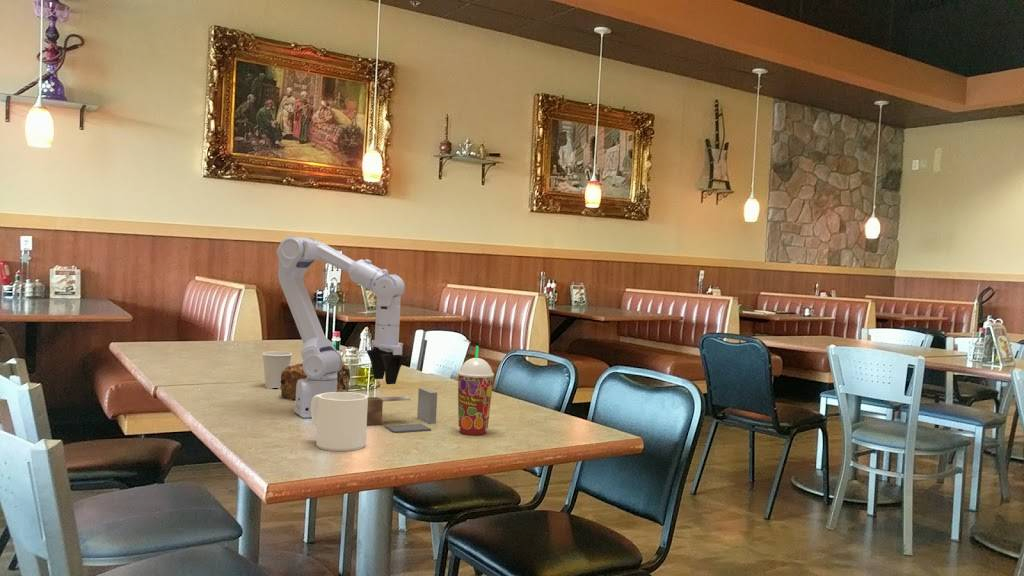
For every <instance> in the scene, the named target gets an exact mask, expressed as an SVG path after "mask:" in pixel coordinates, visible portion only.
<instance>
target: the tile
mask: <svg viewBox="0 0 1024 576" xmlns="http://www.w3.org/2000/svg"><path fill="white" fill-rule="evenodd" d="M417 393H418V395H417V397H418V398H417V413H416V415H417V417H416V418H417V419H418V420H420V421H422V422H424V423H426V424H428V425H431V424H432V425H433V424H436V423H437V405H438V392H437V391H435V390H432V389H429V388H427V387H419V388H418V392H417Z"/></svg>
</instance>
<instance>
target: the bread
mask: <svg viewBox="0 0 1024 576" xmlns="http://www.w3.org/2000/svg"><path fill="white" fill-rule="evenodd" d="M350 371H351V369H350V368H349V366H348V365H346V364H345V363H344V362H343V364H342V367H341V369H340V370H339V371H338V372H337V392H349V389H350V388H349V387H350V381H351V372H350ZM306 378H307V375H306V374H305V372H304V370H303V362H301V363H297V364H296V363H295V364H294V365H290V366H289V367H287V368H285V369H284V370H283V371H282V374H281V387H280V389H279V390H280V391H281V393H280V395H281V397H282V398H283V399H287V400H289V399H292V400H296V385H297V381H298V380H299V379H306Z"/></svg>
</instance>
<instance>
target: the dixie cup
mask: <svg viewBox="0 0 1024 576" xmlns="http://www.w3.org/2000/svg"><path fill="white" fill-rule="evenodd" d="M261 355H262V359H263V372H264V384H265V388H266V387H267V388H266V389H269V388H280V387H281V374H282V371H283V370H284V369H285V368H287V367H289V366H291V360H292V359H291V358H292V355H293V353H292V352H289V351H281V350H280V351H273V350H272V351H271V350H270V351H263V352H262V353H261Z"/></svg>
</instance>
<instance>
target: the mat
mask: <svg viewBox="0 0 1024 576" xmlns="http://www.w3.org/2000/svg"><path fill="white" fill-rule="evenodd" d="M384 428H385V429H387V430H388V431H390V432H392V433H393V434H400V433H414V432H428V431H432V428H430V427H428V426H426V425H425V424H423V423H409V424H391V425H384Z"/></svg>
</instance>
